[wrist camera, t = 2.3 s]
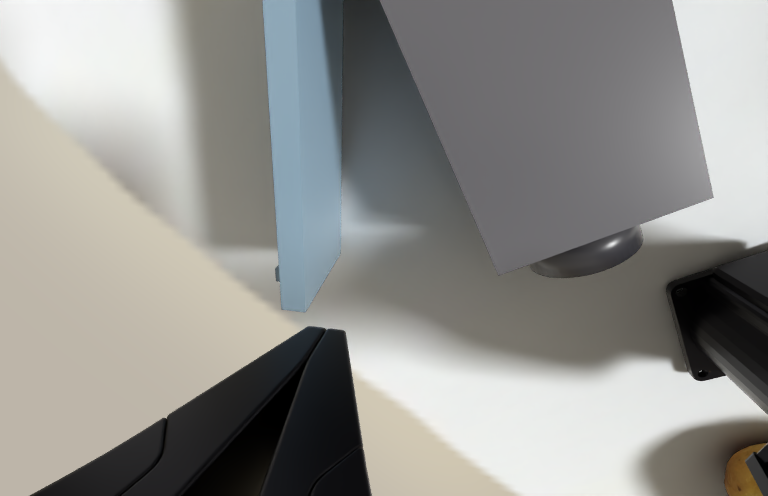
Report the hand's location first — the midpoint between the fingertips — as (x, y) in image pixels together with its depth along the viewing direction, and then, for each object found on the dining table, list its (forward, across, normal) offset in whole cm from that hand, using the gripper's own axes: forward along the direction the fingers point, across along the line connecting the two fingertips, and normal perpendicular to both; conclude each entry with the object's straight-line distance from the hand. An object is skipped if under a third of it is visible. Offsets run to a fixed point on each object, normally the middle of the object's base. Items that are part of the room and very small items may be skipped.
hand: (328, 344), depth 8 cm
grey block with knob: (+12, -4, -8) cm, 15 cm away
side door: (+12, +3, -4) cm, 13 cm away
